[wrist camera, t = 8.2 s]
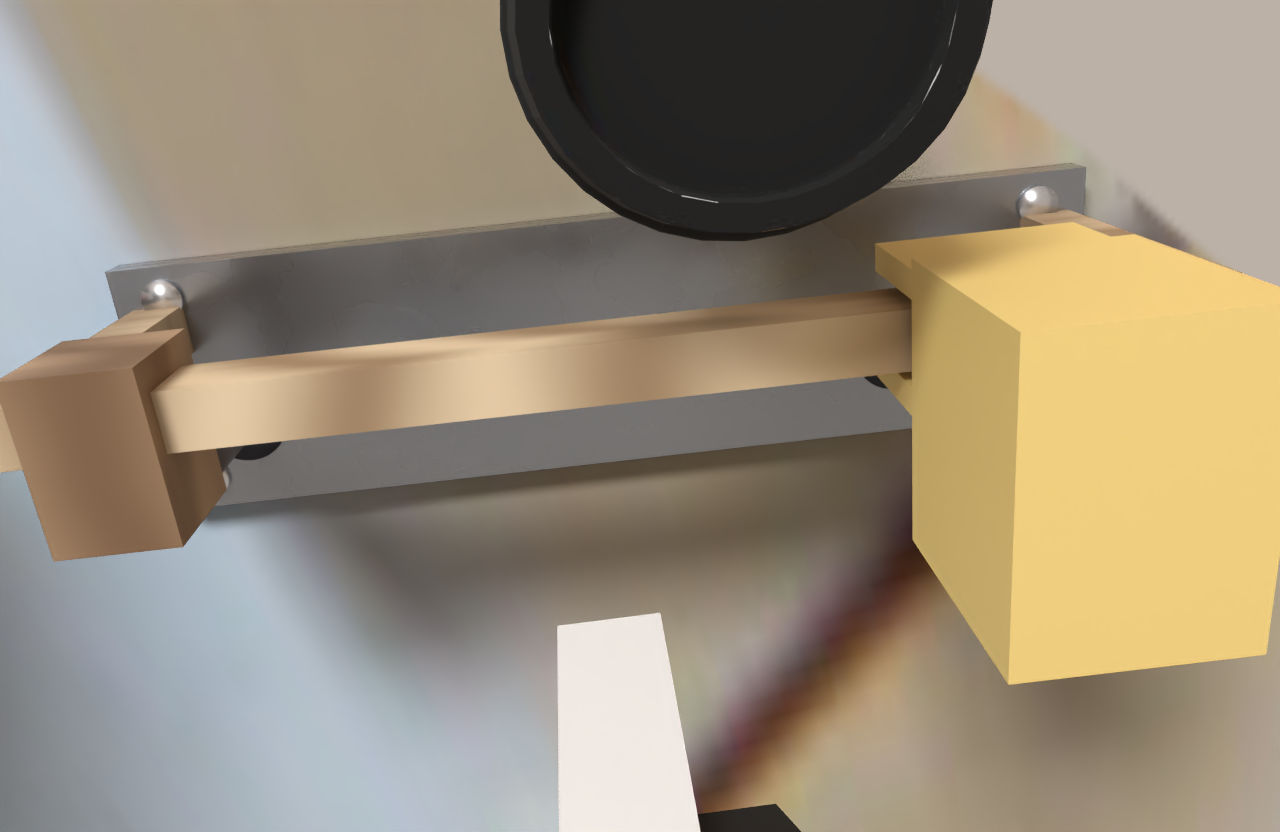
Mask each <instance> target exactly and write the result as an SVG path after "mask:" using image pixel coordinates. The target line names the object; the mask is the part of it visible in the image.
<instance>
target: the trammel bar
mask: <svg viewBox="0 0 1280 832" xmlns="http://www.w3.org/2000/svg"><path fill="white" fill-rule="evenodd" d="M1069 222H1074V223H1077V224H1079V225H1082V226H1085V227H1087V228H1090V229H1092V230H1095V231H1098V232H1100V233H1103V234H1105V235H1108V236H1111V237H1112V236H1122V235H1131V234H1134V233H1131V232H1128V231H1126V230H1123V229H1120V228H1117V227H1115V226H1112V225H1109V224H1106V223H1104V222H1101V221H1098V220H1095V219H1093V218H1090V217H1087V216H1084V215H1082V214H1079V213H1076V212H1073V211H1070V210H1060V211H1057V212H1054V213H1045V214H1036V215H1026V216H1023V218H1021V217H1020V228H1022V227H1032V226H1041V225H1050V224H1059V223H1069ZM1135 235H1137V234H1135ZM1138 236H1139V235H1138ZM1141 237H1142V236H1141ZM1143 238H1145V237H1143ZM1146 239H1148V238H1146ZM1149 240H1151V239H1149ZM1152 241H1153V240H1152ZM1155 242H1156V241H1155ZM1157 243H1159V242H1157ZM1160 244H1162V243H1160ZM1163 245H1164V244H1163ZM1166 246H1167V245H1166ZM1168 247H1170V246H1168ZM1171 248H1173V247H1171ZM1174 249H1175V248H1174ZM1177 250H1178V249H1177ZM1179 251H1181V250H1179ZM1182 252H1184V251H1182ZM1185 253H1186V252H1185ZM1188 254H1189V253H1188ZM1190 255H1192V254H1190ZM1193 256H1195V255H1193ZM1196 257H1197V256H1196ZM1199 258H1200V257H1199ZM1201 259H1203V258H1201ZM1204 260H1206V259H1204ZM1207 261H1208V260H1207ZM1210 262H1211V261H1210ZM1212 263H1214V262H1212ZM1215 264H1217V263H1215ZM1218 265H1220V264H1218ZM1221 266H1222V265H1221ZM1223 267H1225V266H1223ZM1226 268H1228V267H1226ZM1229 269H1231V268H1229ZM1232 270H1233V269H1232ZM1234 271H1236V270H1234ZM1237 272H1239V271H1237ZM1240 273H1242V272H1240ZM193 353H194V349H193V345H192V341H191V337H190V334H189V330H188V326H187V322H186V318H185V314H184V311H183V308H182V309H180V307H175V308H166V309H157V310H147V311H145V310H135V311H132V312H130V313H128V314H127V315H125V316H124V317H122V318H121V319H119V320H117V321H116V322H114V323H113V324H111V325H109V326H108V327H106V328H105V329H103V330H101V331H100V332H98V333H97V334H95V335H93V336H92V337H90V338H89V339H81V340H72V341H63V342H61V343H59V344H57V345H56V346H54V347H52V348H51V349H49V350H47V351H46V352H44V353H42V354H41V355H39V356H37V357H36V358H34V359H32V360H31V361H29V362H27V363H26V364H24V365H23V366H21V367H19V368H18V369H16V370H14V371H13V372H11V373H9V374H8V375H6V376H4V377H3V378H1V379H0V472H8V471H17V470H23V472H24V475H25V478H26V481H27V484H28V487H29V490H30V493H31V496H32V499H33V502H34V505H35V508H36V511H37V514H38V517H39V519H40V522H41V525H42V528H43V531H44V534H45V537H46V540H47V543H48V546H49V549H50V552H51V555H52V558H53V561H62V560H71V559H80V558H89V557H98V556H107V555H116V554H125V553H133V552H142V551H151V550H160V549H169V548H178V547H183V546H184V545H185V544H186V543H187V541H188V540H189V539H190V537H191V536H192V535H193V533H194V532H195V531H196V529H197V528H198V527H199V526H200V524H201V523H202V522H203V520H204V519H205V518H206V516H207V515H208V514H209V512H210V511H211V510H212V509H213V507H214V506H215V505H216V503H217V502H218V501H219V499H220V498H221V497H222V495H223V494H224V493H225V492H226V490H227V488H226V485H225V481H224V477H223V471H224V470H225V469H226V468H227V466H228V465H229V464H230V463H231V461H232V460H233V459H234V458H235V456H236V455H237V454H238V453H239V452H240V450H241V449H242V448H243V447H244V445H252V444H261V443H270V442H279V441H288V440H297V439H306V438H315V437H324V436H333V435H342V434H351V433H360V432H369V431H378V430H388V429H397V428H406V427H415V426H424V425H433V424H442V423H451V422H460V421H469V420H478V419H487V418H496V417H505V416H514V415H523V414H532V413H541V412H550V411H559V410H568V409H577V408H586V407H595V406H604V405H613V404H622V403H631V402H640V401H649V400H658V399H667V398H676V397H685V396H694V395H703V394H712V393H721V392H730V391H740V390H749V389H758V388H767V387H776V386H785V385H794V384H803V383H812V382H821V381H830V380H839V379H848V378H857V377H866V376H875V375H884V374H893V373H902V372H911V371H912V300H911V299H910V298H908V297H907V296H906V295H905V294H904V293H902V292H901V291H900V290H899V289H897V288H889V289H880V290H871V291H862V292H853V293H843V294H834V295H825V296H816V297H807V298H798V299H788V300H779V301H770V302H761V303H752V304H743V305H733V306H724V307H715V308H706V309H697V310H688V311H679V312H669V313H660V314H651V315H642V316H633V317H624V318H614V319H605V320H596V321H587V322H578V323H569V324H559V325H550V326H541V327H532V328H523V329H514V330H505V331H495V332H486V333H477V334H468V335H459V336H450V337H440V338H431V339H422V340H413V341H404V342H395V343H385V344H376V345H367V346H358V347H349V348H340V349H330V350H321V351H312V352H303V353H294V354H285V355H276V356H266V357H257V358H248V359H239V360H230V361H221V362H211V363H202V364H194V363H193V359H192V355H191V354H193Z"/></svg>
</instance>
